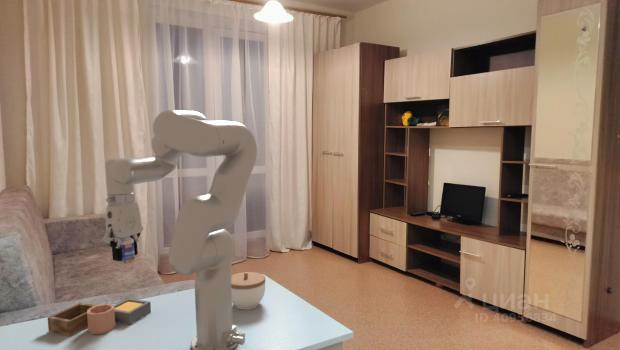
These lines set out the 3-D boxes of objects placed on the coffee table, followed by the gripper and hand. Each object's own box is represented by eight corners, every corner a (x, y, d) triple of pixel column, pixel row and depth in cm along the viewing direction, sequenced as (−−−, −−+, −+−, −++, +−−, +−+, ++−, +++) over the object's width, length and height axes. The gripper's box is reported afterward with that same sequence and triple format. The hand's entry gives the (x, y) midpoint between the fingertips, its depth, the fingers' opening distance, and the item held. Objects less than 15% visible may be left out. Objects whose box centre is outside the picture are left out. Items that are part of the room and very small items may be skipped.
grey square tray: (150, 312, 132) (150, 301, 132) (129, 324, 124) (129, 313, 123) (128, 308, 135) (127, 298, 135) (106, 320, 127) (105, 309, 126)
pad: (144, 306, 131) (144, 303, 131) (129, 315, 125) (129, 312, 125) (128, 304, 133) (128, 301, 133) (112, 312, 127) (112, 309, 127)
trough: (102, 319, 127) (101, 306, 127) (70, 336, 117) (69, 321, 117) (81, 315, 130) (80, 302, 130) (48, 331, 120) (47, 317, 120)
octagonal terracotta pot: (120, 325, 124) (119, 305, 123) (101, 336, 117) (100, 315, 116) (102, 321, 126) (101, 302, 125) (83, 332, 119) (81, 312, 119)
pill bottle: (127, 266, 124) (125, 234, 123) (112, 265, 125) (109, 234, 124) (138, 260, 130) (136, 230, 129) (123, 260, 131) (121, 229, 130)
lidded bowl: (232, 297, 143) (231, 266, 142) (268, 297, 143) (267, 266, 142) (223, 313, 131) (221, 279, 130) (262, 313, 130) (262, 279, 129)
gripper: (108, 204, 116) (113, 267, 118) (151, 195, 132) (154, 250, 134) (88, 203, 119) (93, 264, 121) (132, 194, 135) (136, 249, 137)
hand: (125, 256), depth 127 cm, fingers closed on pill bottle, 5 cm apart
